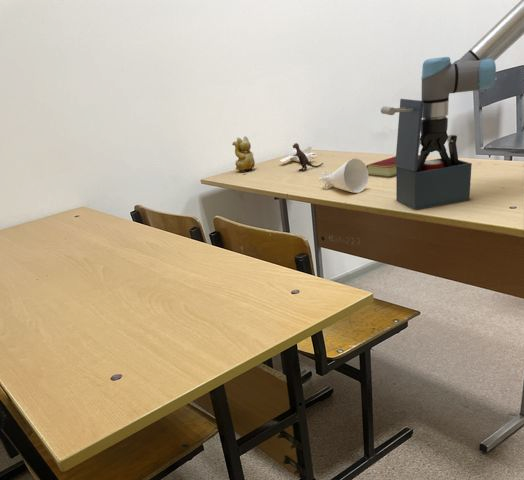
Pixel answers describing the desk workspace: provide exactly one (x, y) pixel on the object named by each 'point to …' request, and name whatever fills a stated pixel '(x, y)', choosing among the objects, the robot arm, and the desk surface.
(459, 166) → the chest
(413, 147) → the lid
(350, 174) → the rocket engine
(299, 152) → the dinosaur model
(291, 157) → the airplane model
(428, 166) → the can
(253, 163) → the decorative figurine
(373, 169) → the hardcover book
